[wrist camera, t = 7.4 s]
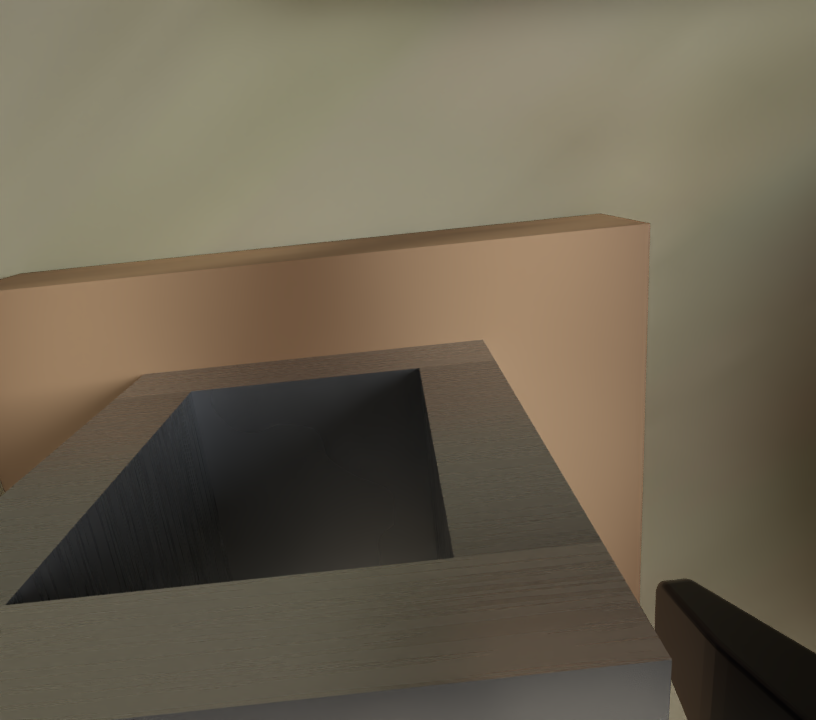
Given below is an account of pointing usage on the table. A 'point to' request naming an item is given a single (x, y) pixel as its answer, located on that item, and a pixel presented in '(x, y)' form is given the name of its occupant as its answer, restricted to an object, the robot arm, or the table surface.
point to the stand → (362, 335)
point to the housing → (316, 556)
